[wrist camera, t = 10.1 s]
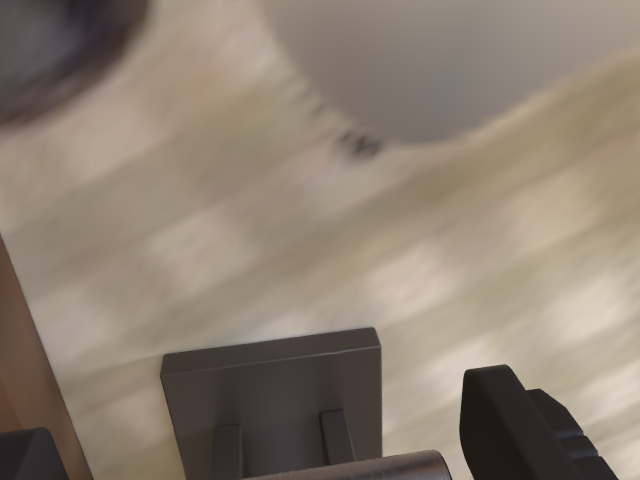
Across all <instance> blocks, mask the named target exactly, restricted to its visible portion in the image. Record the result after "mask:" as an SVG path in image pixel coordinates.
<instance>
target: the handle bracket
mask: <svg viewBox="0 0 640 480" xmlns="http://www.w3.org/2000/svg"><path fill="white" fill-rule="evenodd" d="M160 378H161V382H162V386H163V390H164V394H165V398H166V401H167V405H168V409H169V413H170V417H171V421H172V425H173V429H174V432H175V436H176V440H177V444H178V448H179V452H180V456H181V459H182V463H183V467H184V471H185V475H186V479H187V480H237V479H244V478H250V477H257V476H263V475H270V474H276V473H283V472H290V471H296V470H303V469H309V468H316V467H322V466H329V465H335V464H342V463H349V462H355V461H362V460H368V459H375V458H381V457H382V355H381V344H380V341H379V338H378V336H377V333H376V330H375V328H365V329H357V330H350V331H342V332H334V333H327V334H319V335H311V336H304V337H296V338H288V339H281V340H273V341H265V342H258V343H250V344H242V345H235V346H227V347H219V348H212V349H204V350H197V351H189V352H181V353H174V354H166V355H164V357H163V362H162V368H161V373H160Z"/></svg>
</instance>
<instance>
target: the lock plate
mask: <svg viewBox="0 0 640 480" xmlns="http://www.w3.org/2000/svg"><path fill="white" fill-rule="evenodd" d="M38 427H46V428H47V429H48V430H49V431H50V433H51V435H52V437H53V440H54V442H55V445H56V447H57V450H58V452H59V455H60V457H61V460H62V462H63V464H64V467H65V469H66V472H67V474H68V477H69V479H70V480H93V479H92V476H91V473H90V471H89V468H88V465H87V463H86V460H85V457H84V455H83V452H82V450H81V447H80V444H79V442H78V439H77V436H76V434H75V431H74V428H73V426H72V423H71V420H70V418H69V415H68V412H67V410H66V407H65V405H64V402H63V399H62V397H61V394H60V391H59V389H58V386H57V383H56V381H55V378H54V375H53V373H52V370H51V367H50V365H49V362H48V359H47V357H46V354H45V352H44V349H43V346H42V344H41V341H40V338H39V336H38V333H37V330H36V328H35V325H34V322H33V320H32V317H31V314H30V312H29V309H28V307H27V304H26V301H25V299H24V296H23V293H22V291H21V288H20V285H19V283H18V280H17V277H16V275H15V272H14V269H13V267H12V264H11V262H10V259H9V256H8V254H7V251H6V248H5V246H4V243H3V240H2V238H1V235H0V433H2V432H9V431H16V430H23V429H31V428H38Z"/></svg>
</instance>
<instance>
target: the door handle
mask: <svg viewBox="0 0 640 480" xmlns="http://www.w3.org/2000/svg"><path fill="white" fill-rule="evenodd" d="M237 480H452V477H451V474H450V472H449V469H448V467H447V464H446V462H445V460H444V458H443V457H442V455H441V454H440V452H438V451H437V450H427V451H421V452H414V453H408V454H401V455H394V456H388V457H381V458H375V459H368V460H362V461H355V462H349V463H342V464H335V465H329V466H322V467H316V468H309V469H303V470H296V471H290V472H283V473H276V474H270V475H263V476H257V477H250V478H244V479H237Z"/></svg>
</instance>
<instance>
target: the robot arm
mask: <svg viewBox="0 0 640 480" xmlns="http://www.w3.org/2000/svg"><path fill="white" fill-rule="evenodd" d="M459 432H460V441H461V446H462V450H463V454H464V457H465V460H466V462H467V465H468V467H469V469H470V471H471V473H472V476H473V478H474V480H619V479H618V478H617V477H616V475H615V474H614V473H613V471H612V470H611V469H610V467H609V466H608V464H607V463H606V462H605V460H604V459H603V458H602V456H601V457H599V455H598V451H597V449H596V448H595V447H594V445H593V444H592V443H591V441H590V440H589V439H588V437H587V436H584V434H583V430H582V429H581V428H580V426H579V425H578V424H577V422H576V421H575V420H574V418H573V417H572V415H571V414H570V413H569V411H568V410H567V409H566V407H564V406H563V405H562V404H560V403H559V402H558V401H556V400H555V399H553V398H552V397H551V396H549V395H548V394H547V393H545V392H544V391H543V390H541V389H533V390H525V388H524V387H523V385H522V384H521V382H520V381H519V380H518V378H517V377H516V375H515V374H514V372H513V371H512V369H511V368H510V367H509V366H507V365H505V364H504V365H497V366H490V367H482V368H475V369H468V370H466V371H465V373H464V378H463V389H462V401H461V413H460V426H459ZM0 480H70V479H69V477H68V474H67V472H66V469H65V467H64V464H63V462H62V460H61V457H60V455H59V452H58V450H57V447H56V445H55V442H54V440H53V437H52V435H51V433H50V431H49V430H48V429H47V428H46V427H38V428H31V429H23V430H16V431H9V432H2V433H0Z"/></svg>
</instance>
